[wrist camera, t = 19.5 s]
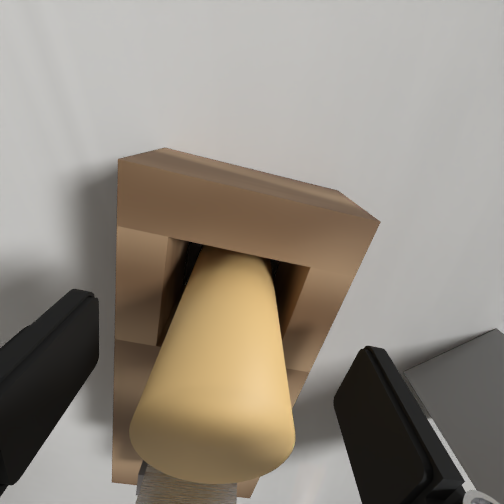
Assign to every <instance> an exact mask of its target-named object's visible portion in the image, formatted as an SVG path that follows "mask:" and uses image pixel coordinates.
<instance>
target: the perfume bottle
mask: <svg viewBox="0 0 504 504" xmlns="http://www.w3.org/2000/svg"><path fill="white" fill-rule="evenodd" d="M404 374H405V375H406V377H407V379H408V380H409V382H410V383H411V385H412V387H413V388H414V390H415V392H416V393H417V395H418V396H419V398H420V400H421V401H422V403H423V404H424V406H425V408H426V409H427V411H428V412H429V414H430V416H431V417H432V419H433V420H434V422H435V424H436V425H437V427H438V429H439V430H440V432H441V433H442V435H443V437H444V438H445V440H446V441H447V443H448V445H449V446H450V448H451V449H452V451H453V453H454V454H455V456H456V458H457V459H458V461H459V462H460V464H461V466H462V467H463V469H464V470H465V472H466V474H467V475H468V477H469V478H470V480H471V482H472V483H473V485H474V486H475V488H476V490H477V491H480V492H482V493H485V494H487V495H488V496H490V497H491V498H493V499H494V500H496V501H497V502H498V503H500V504H504V334H503V333H502V332H500V331H499V330H498V329H495V330H493V331H490V332H488V333H486V334H484V335H482V336H480V337H477V338H475V339H473V340H471V341H469V342H467V343H465V344H462V345H460V346H458V347H456V348H454V349H452V350H449V351H447V352H445V353H443V354H441V355H439V356H437V357H434V358H432V359H430V360H428V361H426V362H424V363H422V364H419V365H417V366H415V367H413V368H411V369H409V370H406V371H404Z"/></svg>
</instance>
